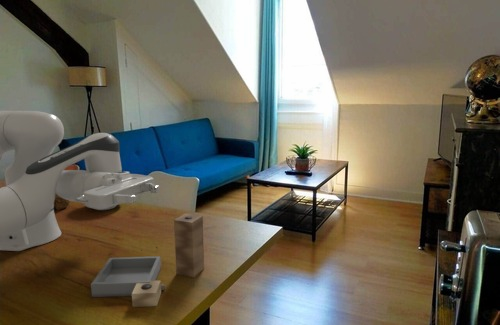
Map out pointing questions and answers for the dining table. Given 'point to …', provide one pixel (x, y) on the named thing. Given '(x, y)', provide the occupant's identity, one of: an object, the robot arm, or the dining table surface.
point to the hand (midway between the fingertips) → (146, 194)
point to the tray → (125, 275)
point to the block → (189, 245)
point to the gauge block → (147, 293)
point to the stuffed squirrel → (60, 202)
